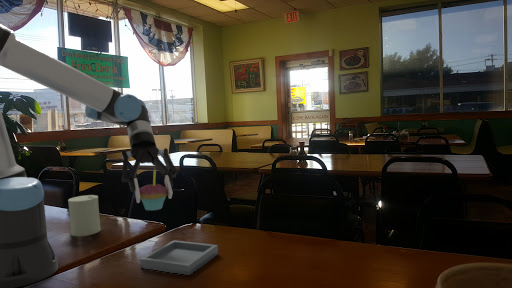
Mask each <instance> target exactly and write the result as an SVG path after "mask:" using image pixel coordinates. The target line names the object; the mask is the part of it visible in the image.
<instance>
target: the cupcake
mask: <svg viewBox="0 0 512 288" xmlns="http://www.w3.org/2000/svg"><path fill="white" fill-rule="evenodd" d="M156 175H157V170H156V169H153V175H152V176H153V177H152V178H153V179H152V183H150V184H145V185H144V186H142V187H140V188H139V192H140V201H141V203H142V205H143V207H144V209H145V211H158V210H161V209H162V208H163V205H164V202H165V200H166V198H167V197H168V193H167V189H166V186H164V185H161V184H160V183H156V178H157V177H156Z"/></svg>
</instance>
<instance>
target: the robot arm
mask: <svg viewBox="0 0 512 288" xmlns="http://www.w3.org/2000/svg"><path fill="white" fill-rule="evenodd" d="M0 66H1V67H2V68H5V69H8V70H9V71H12V72H14V73H16V74H18V75H20V76H22V77H25V78H27V79H28V80H31V81H33V82H35V83H37V84H40V85H42V86H44V87H46V88H48V89H50V90H52V91H54V92H56V93H59V94H61V95H63V96H65V97H67V98H70V99H71V100H74V101H75V102H78V103H80V104H83V105H84V106H85V110H84V111H85V117H87V118H88V119H91V120H95V121H101V122H105V123H109V124H114V125H119V126H124V127H126V130H127V136H128V140H129V146H130V151H126V150H122V151H121V156H120V157H121V160H122V162H123V163H122V173H121V174H122V175H121V182H122V183H128V185H129V189H130V191H131V193H134V194H135V195H134V196H135V200H136V204H139V203H140V202H141V199H140V192H139V189H140V187H139V183H138V178H137V177H136V176H137V173H138V171H139V168H140V166H141V164H146V163H147V164H152V165H153V166H154V167H155V168H156V169H157V170H158V171H159V172H160V174H162V176H163V177H164V185H165V186H164V187H165V188H166V189H167V193H168V195H167V197H168V199H172V197H173V194H174V193H173V189H172V188H173V187H174V179H173V178H176V177H177V173H178V171H177V169H176V167H175V165H174V163H173V161H172V159H171V157H170V155H169V149H168V148H166V147H165V148H163V149H159V148H158V147H157V143H156V140H155V136H154V133H153V128H152V124H151V120H150V115H149V111H148V108H147V105H146V103H145V102H144V101H143V100H141V99H140V98H138V97H137V96H136V95H133V94H130V93H123V92H120V91H119V90H117V89H114V88H113V87H111V86H109V85H107V84H105V83H103V82H101V81H99V80H97V79H95V78H94V77H92V76H90V75H88V74H86V73H84V72H82V71H80V70H78V69H76V68H75V67H73V66H71V65H69V64H67V63H66V62H63V61H61V60H59V59H57V58H56V57H54V56H52V55H50V54H49V53H46V52H44V51H43V50H41V49H39V48H37V47H35V46H33V45H30V44H29V43H27V42H25V41H23V40H21V38H18V37H16V35H15V33H14V31H13V30H11V29H10V28H8V27H6V26H4V25H3V24H1V23H0ZM159 156H161V158H162V160H163V161H162V160H161V159H160V157H159ZM130 157H131V158H133V160H135V162H134V164H133V166H132V169H131V172H130V174H129V175H128V163H129V160H130ZM45 207H46V206H45V190H44V188H43V184H42V182H41V181H40V180H39V179H37V178H35V177H28V176H27V172H26V170H25V167H22V166H20V165H19V164H18V163H17V162H16V158H15V154H14V151H13V148H12V145H11V141H10V137H9V134H8V131H7V127H6V123H5V119H4V116H3V113H2V110H1V108H0V288H19V287H25V286H28V285H31V284H34V283H37V282H40V281H42V280H45V279H46V278H48V277H51V276H52V275H53V274H56V272H57V271H58V269H59V265H58V264H59V262H58V258H57V255H56V253H55V252H54V249H53V248H52V246H51V244H50V242H49V238H48V231H47V229H48V228H47V220H46V208H45Z"/></svg>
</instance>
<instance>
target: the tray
mask: <svg viewBox="0 0 512 288" xmlns="http://www.w3.org/2000/svg"><path fill="white" fill-rule="evenodd" d="M217 255H219V247H218V244H211V243H201V242H195V241H194V242H193V241H192V242H191V241H184V240H176V239H175V240H171V241H170V242H168V243H166V244H165V245H162V246H161V247H159V248H157V249H155V250H154V251H152V252H150V253H148V254H146V255H145V256H143V257H141V258H140V259H139V260H140V269H141V268H146V269H153V270H159V271H165V272H164V273H166V272H170V273H169V274H172V273H178V274H177V275H179V274H185V275H190V274H191V275H192V274H194V273H195V272H196V271H198V270H199V269H200V268H202V267H203V266H205V265H206V264H207V263H208V262H210V261H212V260H213V259H214V258H215V257H216V256H217ZM146 269H145V270H146ZM197 269H198V270H197ZM153 270H152V271H153ZM159 271H158V272H159ZM194 271H195V272H194ZM193 272H194V273H193ZM185 275H184V276H185ZM191 275H190V276H191Z"/></svg>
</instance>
